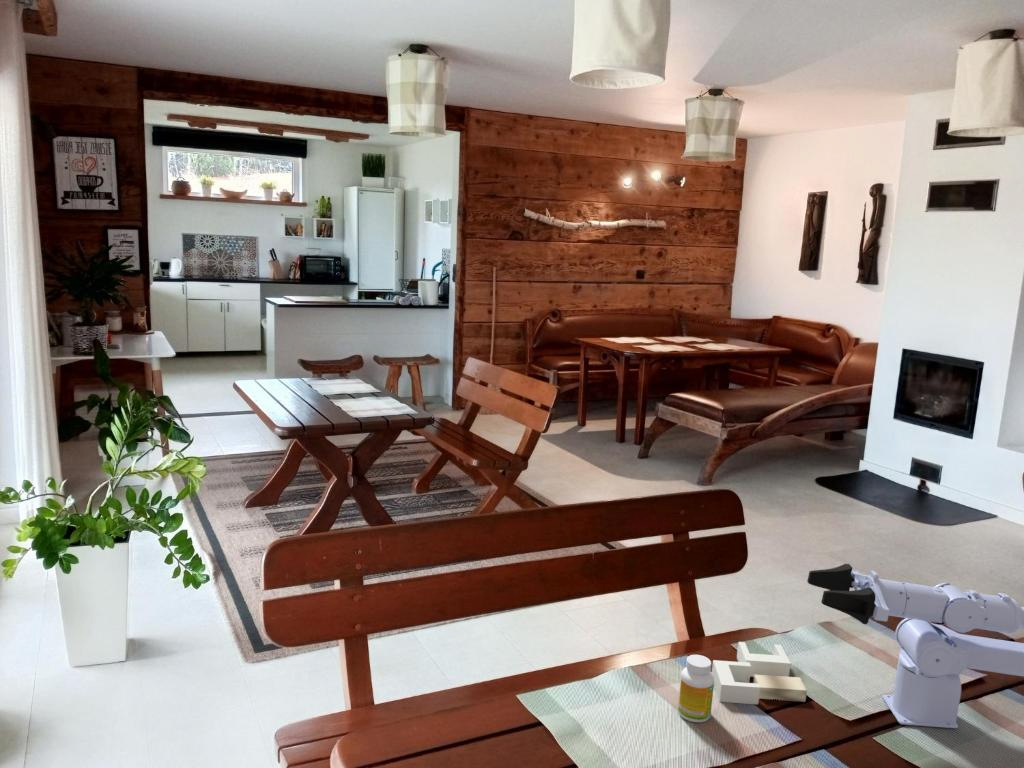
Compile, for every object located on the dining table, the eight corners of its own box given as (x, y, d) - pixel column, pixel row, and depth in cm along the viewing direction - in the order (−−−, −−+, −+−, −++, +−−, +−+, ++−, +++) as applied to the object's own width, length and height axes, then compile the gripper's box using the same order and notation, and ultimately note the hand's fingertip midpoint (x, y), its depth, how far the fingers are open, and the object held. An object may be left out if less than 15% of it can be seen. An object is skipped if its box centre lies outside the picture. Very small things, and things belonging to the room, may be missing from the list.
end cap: (747, 678, 146) (749, 662, 145) (758, 704, 138) (760, 687, 138) (711, 676, 146) (713, 660, 146) (719, 701, 138) (721, 684, 138)
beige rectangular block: (798, 690, 144) (799, 677, 143) (805, 703, 140) (806, 690, 139) (752, 687, 144) (754, 674, 144) (758, 700, 140) (759, 687, 140)
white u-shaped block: (736, 657, 153) (738, 641, 152) (779, 660, 153) (780, 644, 152) (744, 676, 147) (746, 660, 146) (788, 679, 146) (790, 663, 146)
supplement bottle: (711, 725, 132) (716, 671, 130) (677, 720, 133) (682, 666, 131) (709, 707, 137) (715, 654, 135) (677, 702, 138) (682, 650, 136)
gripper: (886, 558, 140) (807, 547, 141) (922, 596, 126) (835, 584, 126) (877, 596, 142) (799, 584, 142) (912, 637, 127) (825, 625, 128)
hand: (815, 587), depth 134 cm, fingers open, 7 cm apart
